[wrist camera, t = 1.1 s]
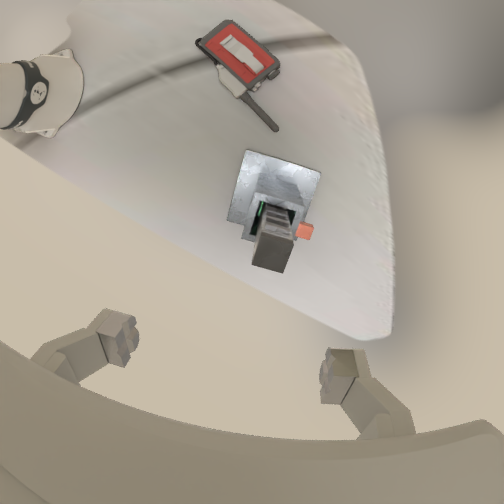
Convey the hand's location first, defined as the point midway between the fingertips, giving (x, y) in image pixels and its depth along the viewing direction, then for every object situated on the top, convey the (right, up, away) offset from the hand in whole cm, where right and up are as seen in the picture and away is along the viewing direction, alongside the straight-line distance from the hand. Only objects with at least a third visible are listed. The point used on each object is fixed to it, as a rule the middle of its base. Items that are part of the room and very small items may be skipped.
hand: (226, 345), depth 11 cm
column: (+4, +12, +32) cm, 34 cm away
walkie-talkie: (+1, +31, +25) cm, 40 cm away
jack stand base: (+4, +13, +33) cm, 36 cm away
